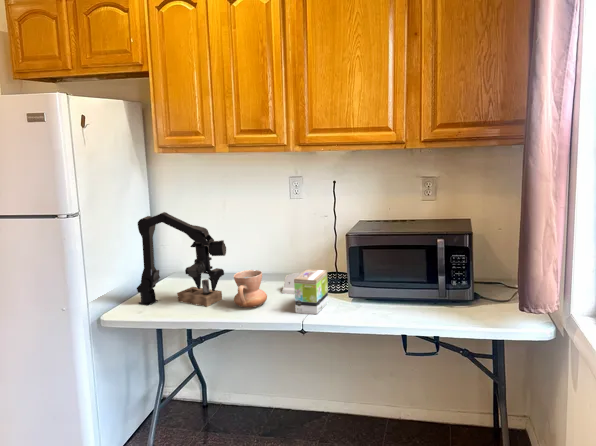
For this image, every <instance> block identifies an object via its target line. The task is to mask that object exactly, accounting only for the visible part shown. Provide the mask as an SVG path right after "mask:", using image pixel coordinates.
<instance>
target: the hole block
mask: <svg viewBox="0 0 596 446" xmlns="http://www.w3.org/2000/svg"><path fill="white" fill-rule="evenodd" d="M209 289H210V288H209ZM176 294H177V302H180V303H181V302H182V303H186V304H191V303H192V305H196V304H197V306H202V305H204V306H203V307H209V306H212V305H214V304H216V303H218V302H220V301H222V300H223V293H222V290H217V289H215V291H212V288H211V289H210V294H209V295H203V287H200V289H198V288H197V286H191V287H188V288H186V289H184V290H181V291H179V292H177V293H176ZM211 304H212V305H211Z"/></svg>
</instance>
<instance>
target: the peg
mask: <svg viewBox="0 0 596 446" xmlns="http://www.w3.org/2000/svg"><path fill="white" fill-rule="evenodd" d="M201 286H202V287H201V288H203V295H209V294H210V280H209V279H201Z"/></svg>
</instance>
